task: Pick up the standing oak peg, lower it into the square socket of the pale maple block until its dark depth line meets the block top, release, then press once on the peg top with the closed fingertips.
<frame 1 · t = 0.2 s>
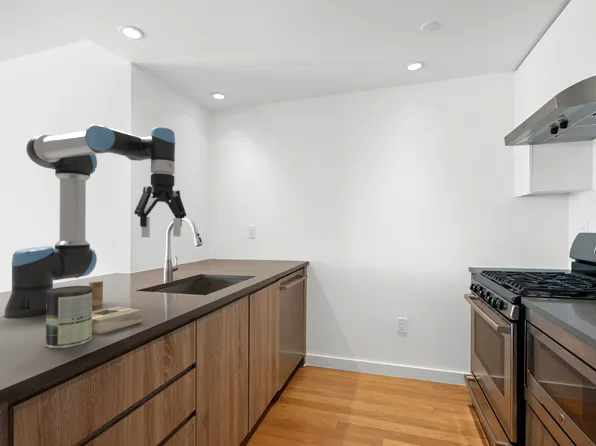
hand: (162, 237, 112), 27 cm above the counter, fingers open, 13 cm apart
maple block: (107, 325, 103), on the counter
coffee can: (69, 342, 88), on the counter
oak peg: (95, 317, 113), on the counter
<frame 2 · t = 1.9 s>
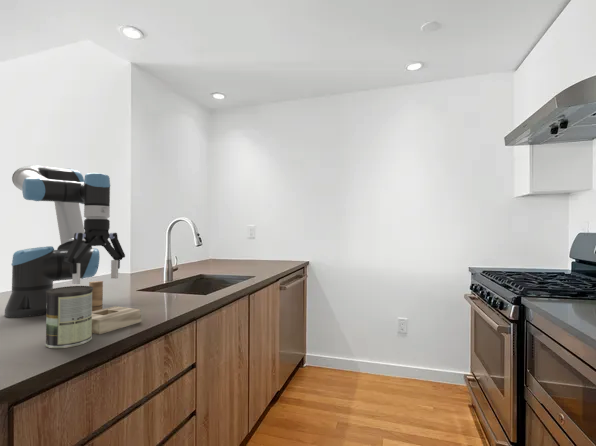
hand: (96, 280, 113), 12 cm above the counter, fingers open, 13 cm apart
nothing on the counter moved.
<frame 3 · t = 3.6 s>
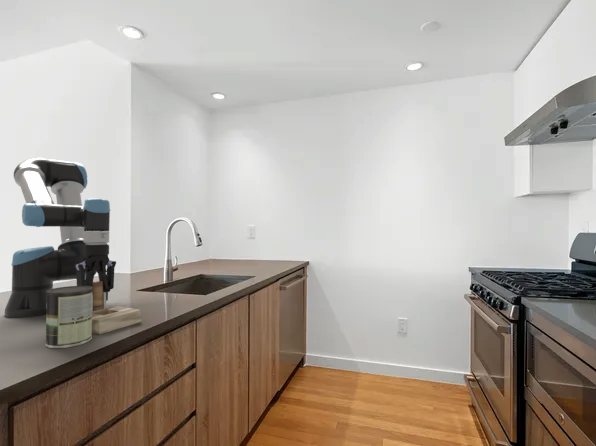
hand: (95, 312, 113), 2 cm above the counter, fingers closed on oak peg, 4 cm apart
oak peg: (95, 317, 113), on the counter, touching gripper
everything else where it was.
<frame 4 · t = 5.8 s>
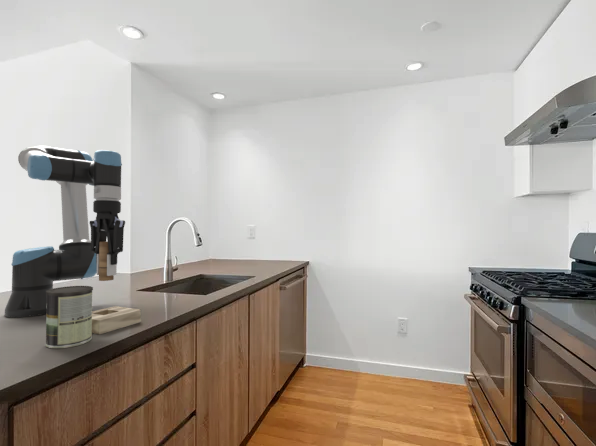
hand: (106, 274, 104), 16 cm above the counter, fingers closed on oak peg, 4 cm apart
oak peg: (106, 279, 104), point 14 cm above the counter, touching gripper
everything else where it was.
when the fingers open (5 cm above the counter, at t = 8.2 s): oak peg drops 3 cm, resting in maple block.
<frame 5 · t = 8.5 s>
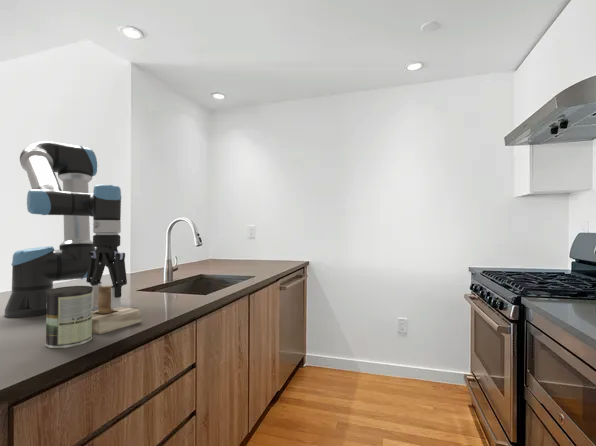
hand: (105, 306, 104), 6 cm above the counter, fingers open, 8 cm apart
oak peg: (105, 325, 104), resting in maple block
everything else where it was.
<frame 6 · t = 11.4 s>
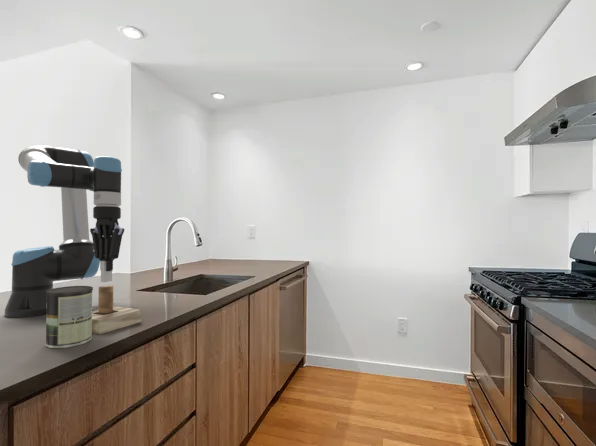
hand: (106, 281, 104), 14 cm above the counter, fingers closed
nothing on the counter moved.
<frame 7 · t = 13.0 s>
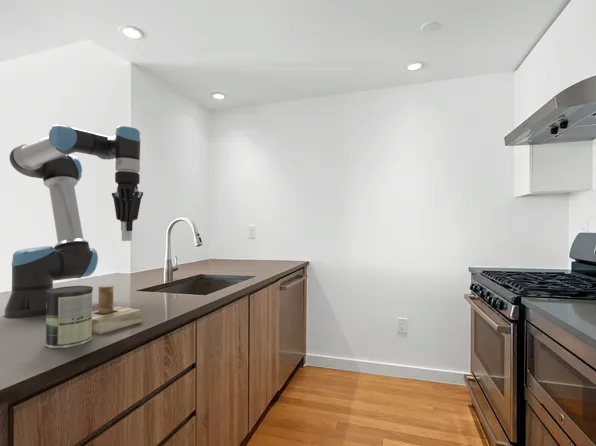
hand: (126, 240, 114), 26 cm above the counter, fingers closed
nothing on the counter moved.
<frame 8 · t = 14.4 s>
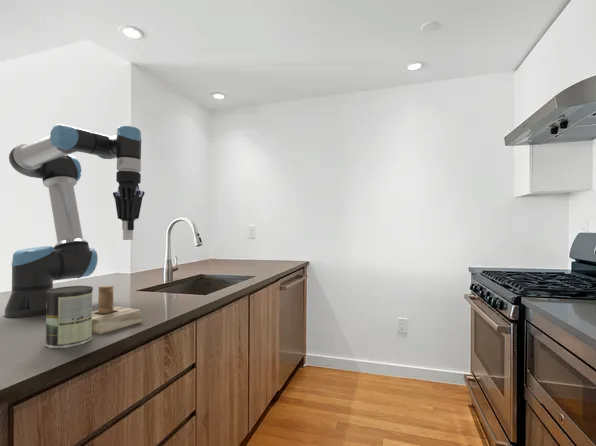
hand: (127, 239, 115), 26 cm above the counter, fingers closed
nothing on the counter moved.
at the end: oak peg 0.0 cm from the target spot on the maple block, point 0.0 cm above the maple block's base; oak peg tilted 0°; the gripper is holding nothing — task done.
